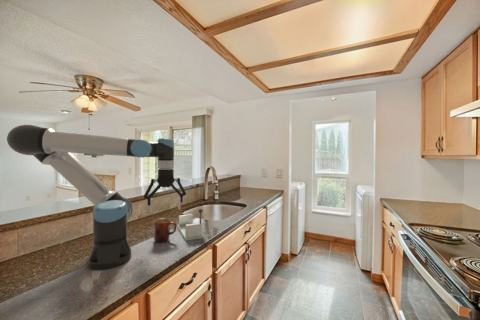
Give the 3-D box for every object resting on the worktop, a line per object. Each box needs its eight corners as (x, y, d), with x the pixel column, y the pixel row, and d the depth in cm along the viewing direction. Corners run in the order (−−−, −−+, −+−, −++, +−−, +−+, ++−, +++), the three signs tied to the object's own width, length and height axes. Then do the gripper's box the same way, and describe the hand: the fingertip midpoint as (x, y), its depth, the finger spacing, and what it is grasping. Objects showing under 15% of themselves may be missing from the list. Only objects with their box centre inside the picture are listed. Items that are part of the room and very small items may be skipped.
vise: (185, 240, 103) (185, 211, 103) (177, 227, 123) (177, 202, 122) (203, 237, 107) (203, 209, 107) (192, 225, 127) (193, 201, 127)
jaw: (179, 225, 121) (179, 216, 121) (177, 221, 128) (177, 213, 128) (192, 223, 124) (192, 214, 124) (189, 220, 131) (189, 211, 131)
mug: (149, 243, 99) (149, 222, 99) (157, 236, 108) (158, 217, 108) (172, 244, 98) (172, 223, 98) (179, 237, 107) (179, 218, 107)
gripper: (138, 169, 94) (138, 215, 94) (192, 168, 105) (191, 209, 106) (138, 168, 100) (138, 211, 101) (188, 168, 112) (188, 206, 112)
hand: (165, 210), depth 103 cm, fingers open, 13 cm apart
